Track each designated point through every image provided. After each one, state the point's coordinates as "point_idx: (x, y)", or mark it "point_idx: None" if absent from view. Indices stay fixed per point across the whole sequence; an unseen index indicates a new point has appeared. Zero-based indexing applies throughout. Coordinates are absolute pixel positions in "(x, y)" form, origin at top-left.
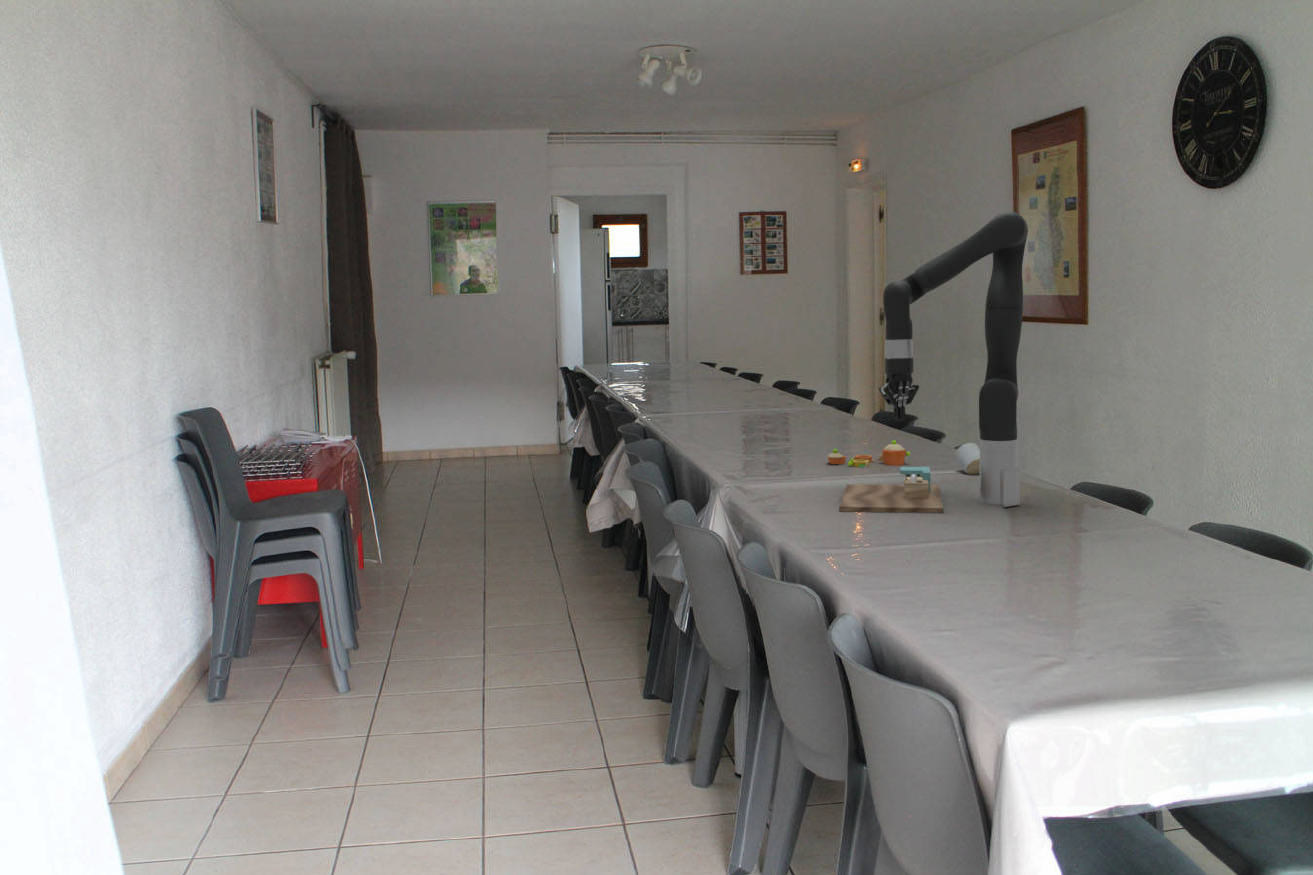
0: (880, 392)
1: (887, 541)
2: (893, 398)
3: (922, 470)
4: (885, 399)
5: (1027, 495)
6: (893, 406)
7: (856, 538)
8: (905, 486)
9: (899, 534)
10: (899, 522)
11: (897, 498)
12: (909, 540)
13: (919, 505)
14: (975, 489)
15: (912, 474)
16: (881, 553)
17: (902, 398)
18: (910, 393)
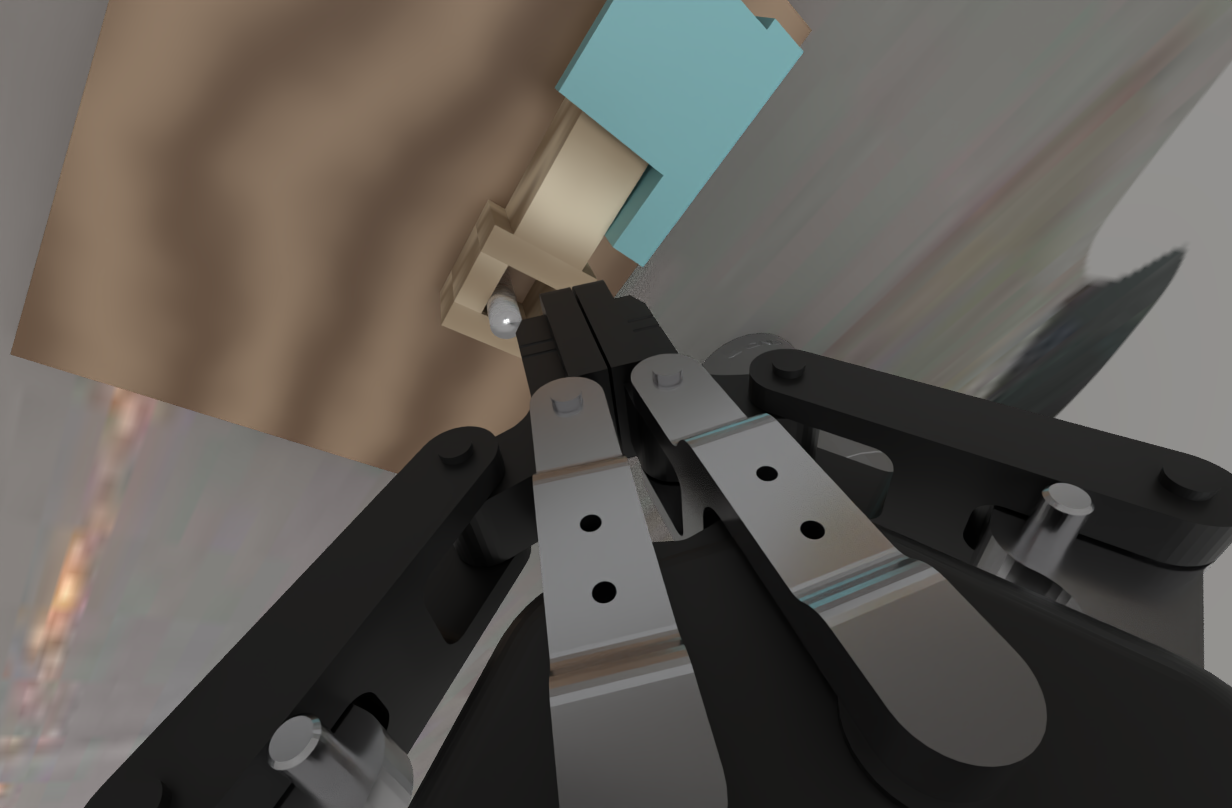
0: (166, 720)
1: (126, 715)
2: (463, 630)
3: (669, 167)
4: (355, 540)
5: (894, 333)
6: (528, 420)
7: (28, 692)
8: (442, 317)
9: (189, 668)
10: (250, 561)
11: (404, 278)
12: None
13: (414, 438)
14: (904, 131)
15: (503, 319)
16: (75, 784)
17: (680, 537)
18: (905, 526)
